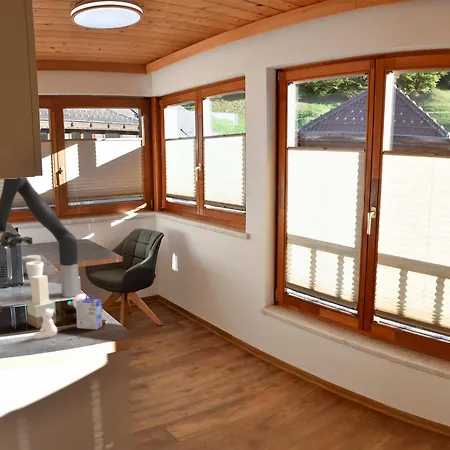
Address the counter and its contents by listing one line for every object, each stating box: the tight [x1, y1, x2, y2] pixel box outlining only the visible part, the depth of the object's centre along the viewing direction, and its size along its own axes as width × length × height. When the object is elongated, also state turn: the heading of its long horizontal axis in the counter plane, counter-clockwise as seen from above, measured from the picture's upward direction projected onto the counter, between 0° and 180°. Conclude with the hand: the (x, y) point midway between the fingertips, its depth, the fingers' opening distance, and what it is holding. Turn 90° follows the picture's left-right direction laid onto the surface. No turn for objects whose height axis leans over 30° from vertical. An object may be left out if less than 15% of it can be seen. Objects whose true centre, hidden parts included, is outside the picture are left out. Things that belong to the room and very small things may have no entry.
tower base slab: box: [27, 312, 57, 329], centre depth 229 cm, size 9×9×5 cm
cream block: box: [30, 274, 50, 304], centre depth 227 cm, size 5×5×12 cm
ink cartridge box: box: [75, 293, 103, 330], centre depth 223 cm, size 10×6×14 cm, turn 78°
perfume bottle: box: [67, 293, 89, 309], centre depth 249 cm, size 8×8×12 cm
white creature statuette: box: [33, 308, 58, 340], centre depth 213 cm, size 10×9×12 cm
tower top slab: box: [26, 299, 57, 318], centre depth 228 cm, size 9×9×5 cm
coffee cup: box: [24, 254, 42, 276], centre depth 317 cm, size 9×9×12 cm
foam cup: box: [25, 260, 45, 286], centre depth 294 cm, size 10×9×13 cm
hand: (22, 243), depth 239 cm, fingers open, 8 cm apart
